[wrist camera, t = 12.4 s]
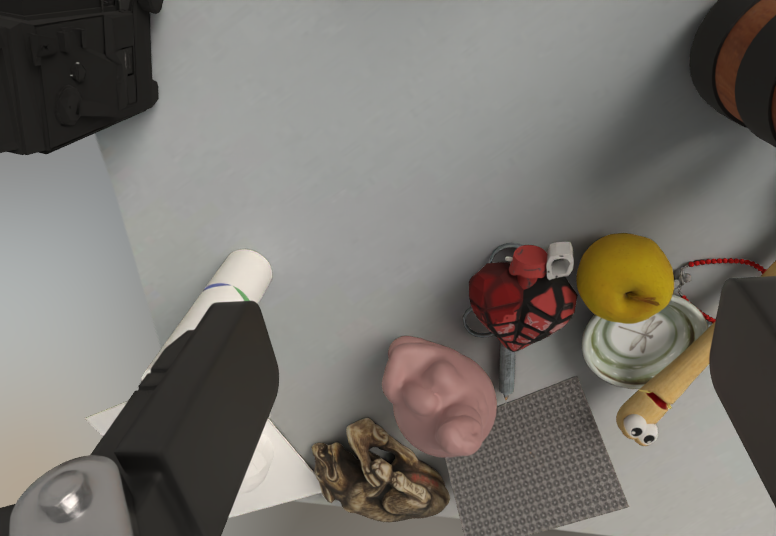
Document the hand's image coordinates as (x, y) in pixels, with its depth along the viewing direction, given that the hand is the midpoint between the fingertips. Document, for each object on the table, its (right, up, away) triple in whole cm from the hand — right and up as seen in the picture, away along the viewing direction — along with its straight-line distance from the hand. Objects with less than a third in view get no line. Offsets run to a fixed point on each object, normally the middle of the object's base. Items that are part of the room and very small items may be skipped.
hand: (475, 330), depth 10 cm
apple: (+16, +3, +34) cm, 38 cm away
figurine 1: (+1, -18, +47) cm, 50 cm away
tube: (-14, +1, +40) cm, 42 cm away
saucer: (+19, -4, +38) cm, 43 cm away
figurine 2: (+3, -7, +43) cm, 43 cm away
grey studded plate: (+10, -17, +41) cm, 46 cm away
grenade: (+9, -5, +36) cm, 38 cm away
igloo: (-22, -20, +54) cm, 62 cm away
